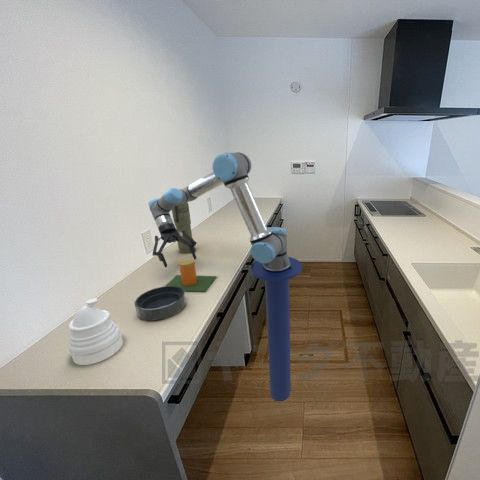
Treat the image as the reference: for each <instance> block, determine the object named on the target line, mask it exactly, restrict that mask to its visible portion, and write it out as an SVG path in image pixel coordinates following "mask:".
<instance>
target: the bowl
mask: <svg viewBox="0 0 480 480" xmlns="http://www.w3.org/2000/svg"><path fill="white" fill-rule="evenodd" d="M186 304H187V300H186V292H185V291H184V290H183V289H182V288H180V287H177V286H166V285H164V286H163V285H162V286H159V287H155V288H152V289H149V290H147V291H145V292H143V293H142V294H140V295H139V296H138V297H137V298H136V299H135V300H134V308H135V311H136V315H137V317H138V318H140V319H142V320H145V321H158V320H162V319H166V318H169V317H171V316H173V315H176V314H177V313H179V312H180V311H181V310H183V308H184V307H185V306H186Z"/></svg>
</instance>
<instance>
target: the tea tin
mask: <svg viewBox="0 0 480 480" xmlns="http://www.w3.org/2000/svg"><path fill="white" fill-rule="evenodd" d="M177 264H178V267H179V273H180V274H179V275H181V279H182V284H183V285H184V286H191V285H194V284H196V283H197V276H198V275H197V269H196V259H195V260H194V258H184V259H181V260H179V261H178V263H177Z"/></svg>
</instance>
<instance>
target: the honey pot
mask: <svg viewBox="0 0 480 480" xmlns="http://www.w3.org/2000/svg"><path fill="white" fill-rule="evenodd" d="M85 303H86V305H83V306H81V307H80V308H79V309H78V310H77V311H76V313H75V314H74V317H73V319H72V320H71V321H70V322H69V324H68V329H69V330H70V332H69V335H68V337H69V339H68V344H67V348H68V352H69V354H70V356H71V358H72V361H73V363H74V364H76V365H79V366H87V365H88V366H89V365H93V364H98V363H100V362H103V361H104V360H107V359H109V358H110V357H112V356H113V355H115V354H117V352H118V351H119V350H120V349H121V348H122V346H123V345H124V340H123V336H122V333H121V330H120V327H119V326H118V325H117V324H116V323H115V322H114V320H113V319H112V318H110V317H111V313H110V311H108V310H105V309H99V308H97V307H95V306H96V305H97V304H98V298H96V297H95V298H90V299H88V300H86V301H85Z"/></svg>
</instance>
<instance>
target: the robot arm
mask: <svg viewBox="0 0 480 480" xmlns="http://www.w3.org/2000/svg"><path fill="white" fill-rule="evenodd" d="M251 170H252V162H251V159H250V158H249V156H248V155H246V154H245V153H243V152H224V153H221V154H218V155H217V156H216V157H215V158H214V159H213V162H212V172H210V173H209V174H206V175H205V176H203V177H201V178H199V179H197V180H196V181H194V182H192V183H191V184H189V185H187V186H185V187H183V188H179V189H178V188H175V187H170V188H168V189H167V190H166V191H164V193H163V194H162V195H161V196H160V197H154V198H153V199H151V200H149V201H148V207H149V211H150V213H151V215H152V218H153V220H154V222H155V225H156V227H157V229H158V232H159V234H160V235H159V236H158V235H154V246H153V250H152V256H153V257H155V256H156V257H157V258H158V260H159V262H162V264H163V266H164V268H168V262H167V260H166V258H165V255H164V253H163V251H164V249H165V247H166V245H167V244H171V243H176V242H177V243H178V242H181V243H183V244H184V245H186V246H188V247H190V251H191V253H190V254H191V256H192V259H194V260H195V261H196V259H197V254H196V252H197V250H196V248H195V247H196V246H197V244H198V243H197V241H195V240H194V238H193V237H192V238H193V239H192V238H190V237H189V236H188V235H187V234H186V233H185V231H182V232H179V233H178V232H177V230H176V226H175V224H174V220H173V217H172V216H171V214H170V212H172V209H173V208H174V207H175V206H177V205H180V204H183V203H186V202H188V203H189V202H193V201H196V200H197V199H198V198H200V197H201V196H203V195H205V194H207V193H209V192H210V191H211V192H212V190H214V189H217V188H219V187H220V186H222V185H224V186H225V188H226V189H229V190H230V193H231V195H232V197H233V199H234V202H235V203H236V206H237V208H238V210H239V212H240V215H241V217H242V219H243V221H244V224H245V226H246V228H247V231H248V232H249V235H250V236H249V242H250V245H251V247H250V255H251V257H252V259H253V260H255V262H256V261H258V262H260V263H263V268H264V269H265V270H266V271H268V272H283V271H286V270H288V269H289V268H292V267H290V261H289V258H288V257H289V256H288V241H287V240H288V238H287V237H288V233H287V229H286V228H284V227H280V226H271V227H267V225H266V223H265V221H264V218H263V216H262V213H261V211H260V209H259V207H258V203H257V201H256V200H255V197H254V195H253V193H252V190H251V188H250V185H249V180H250V179H249V174H250V172H251ZM179 235H181V236H183V237H184V238H185V239H186V240H187V241H186V240H184V239H182V238H181V237H180V236H179ZM160 240H162V241H163V242H162V243H161V246H160V247H159V249H158V245H159V242H160ZM188 241H189V242H188Z"/></svg>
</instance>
